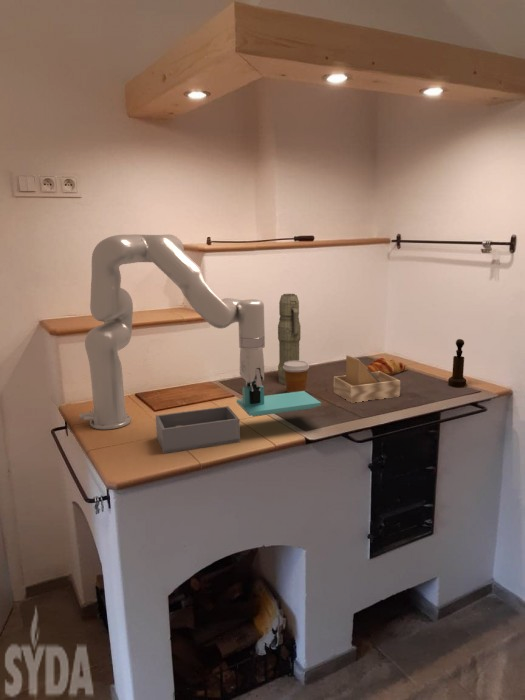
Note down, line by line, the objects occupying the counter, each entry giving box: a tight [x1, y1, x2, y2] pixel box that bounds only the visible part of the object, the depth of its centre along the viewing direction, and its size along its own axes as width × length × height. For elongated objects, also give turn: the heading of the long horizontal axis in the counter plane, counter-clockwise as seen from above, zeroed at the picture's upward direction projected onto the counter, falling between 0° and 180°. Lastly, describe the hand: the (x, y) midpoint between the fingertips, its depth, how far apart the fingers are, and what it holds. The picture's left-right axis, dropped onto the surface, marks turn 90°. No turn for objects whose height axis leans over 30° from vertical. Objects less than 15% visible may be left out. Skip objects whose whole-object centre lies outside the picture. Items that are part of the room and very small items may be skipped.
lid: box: [236, 385, 322, 417], centre depth 161 cm, size 23×13×8 cm, turn 110°
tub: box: [155, 405, 241, 455], centre depth 154 cm, size 22×12×7 cm, turn 109°
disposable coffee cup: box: [283, 360, 310, 393], centre depth 193 cm, size 10×10×12 cm
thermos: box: [277, 293, 301, 386], centre depth 206 cm, size 9×12×35 cm
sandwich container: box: [345, 355, 380, 386], centre depth 192 cm, size 9×15×15 cm, turn 113°
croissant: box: [365, 357, 408, 376], centre depth 221 cm, size 21×10×8 cm, turn 110°
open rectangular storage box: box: [333, 371, 401, 404], centre depth 193 cm, size 20×14×6 cm
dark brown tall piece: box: [447, 338, 467, 388], centre depth 201 cm, size 7×6×18 cm
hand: (253, 401), depth 159 cm, fingers closed on lid, 2 cm apart
